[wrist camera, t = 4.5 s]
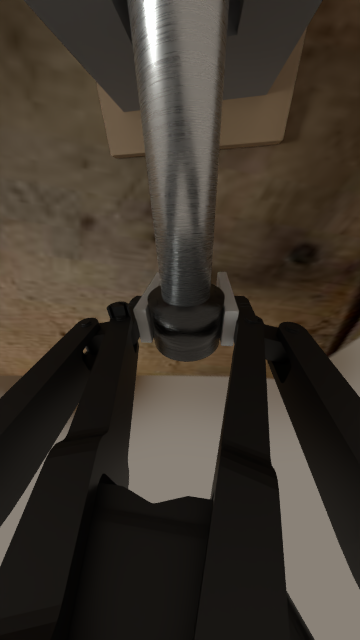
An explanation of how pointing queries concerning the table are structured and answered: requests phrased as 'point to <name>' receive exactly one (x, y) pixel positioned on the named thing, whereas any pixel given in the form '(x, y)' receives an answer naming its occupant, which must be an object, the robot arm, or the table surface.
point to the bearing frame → (239, 76)
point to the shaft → (182, 162)
